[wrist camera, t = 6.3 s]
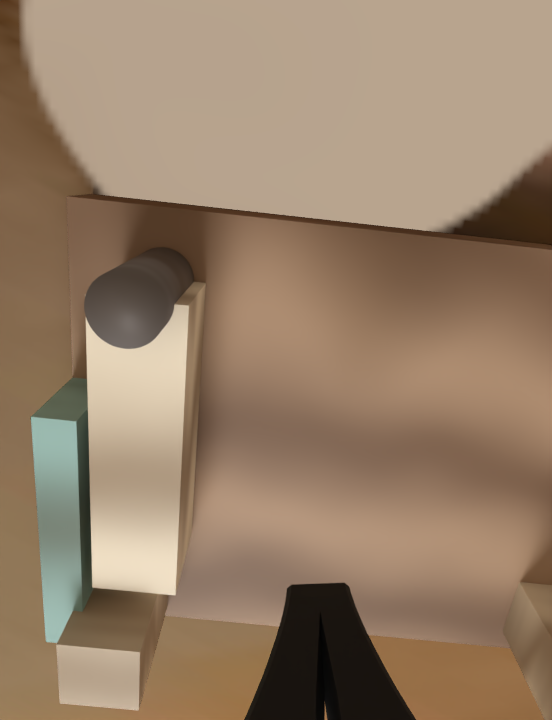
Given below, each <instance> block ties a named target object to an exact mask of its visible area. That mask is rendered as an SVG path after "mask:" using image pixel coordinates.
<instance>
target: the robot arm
mask: <svg viewBox="0 0 552 720" xmlns="http://www.w3.org/2000/svg"><path fill="white" fill-rule="evenodd" d="M325 706H326V712H327V719H328V720H416V719H415V717H414V716H413V714H412V713H411V711H410V709H409V708H408V706H407V705H406V703H405V701H404V700H403V698H402V696H401V695H400V693H399V691H398V690H397V688H396V686H395V685H394V683H393V681H392V679H391V678H390V676H389V674H388V672H387V670H386V669H385V667H384V665H383V663H382V661H381V659H380V657H379V655H378V653H377V652H376V650H375V648H374V646H373V644H372V642H371V640H370V638H369V636H368V634H367V631H366V629H365V627H364V625H363V623H362V620H361V618H360V616H359V613H358V611H357V608H356V606H355V603H354V600H353V597H352V594H351V591H350V587H349V586H348V585H347V584H346V583H319V584H293V585H290V586H289V587H288V588H287V592H286V600H285V605H284V610H283V614H282V618H281V622H280V626H279V629H278V633H277V636H276V639H275V642H274V645H273V648H272V651H271V654H270V657H269V660H268V663H267V666H266V669H265V671H264V674H263V677H262V679H261V681H260V684H259V686H258V689H257V691H256V694H255V696H254V699H253V701H252V703H251V706H250V708H249V710H248V713H247V715H246V717H245V719H244V720H324V711H325Z"/></svg>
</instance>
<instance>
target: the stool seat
mask: <svg viewBox="0 0 552 720" xmlns="http://www.w3.org/2000/svg"><path fill="white" fill-rule="evenodd" d="M66 198H67V227H68V256H69V285H70V314H71V343H72V372H73V378H72V379H71V380H69V381H68V382H67V383H66V384H65V385H64V386H63V387H62V388H61V389H60V390H59V391H58V392H57V393H56V394H55V395H54V396H53V397H51V398H50V399H49V400H48V401H47V402H46V403H45V404H44V405H43V406H42V407H41V408H40V409H39V410H38V411H37V412H36V413H35V414H33V415H32V416H31V425H32V440H33V455H34V470H35V485H36V500H37V515H38V530H39V545H40V560H41V575H42V590H43V605H44V620H45V635H46V642H53V643H57V644H56V646H57V663H58V680H59V698H60V703H62V704H73V705H84V706H95V707H106V708H117V709H128V710H139V708H140V704H141V701H142V697H143V694H144V690H145V686H146V683H147V679H148V675H149V672H150V668H151V664H152V661H153V657H154V653H155V650H156V646H157V642H158V639H159V635H160V631H161V628H162V624H163V621H164V617H165V616H174V617H185V618H195V619H206V620H217V621H227V622H238V623H248V624H259V625H270V626H280V622H281V618H282V614H283V610H284V605H285V600H286V592H287V588H288V587H289V586H290V585H293V584H319V583H346V584H347V585H348V586H349V587H350V591H351V594H352V597H353V600H354V603H355V606H356V608H357V611H358V613H359V616H360V618H361V620H362V623H363V625H364V627H365V629H366V631H367V634H368V635H376V636H386V637H397V638H408V639H418V640H429V641H439V642H450V643H461V644H471V645H482V646H492V647H503V648H511V650H512V652H513V654H514V656H515V658H516V661H517V663H518V665H519V667H520V669H521V671H522V673H523V675H524V677H525V679H526V681H527V684H528V686H529V688H530V690H531V692H532V694H533V696H534V698H535V700H536V702H537V704H538V707H539V709H540V711H541V713H542V715H543V717H544V719H545V720H552V245H548V244H539V243H530V242H521V241H512V240H503V239H494V238H485V237H476V236H467V235H458V234H449V233H440V232H431V231H422V230H413V229H403V228H395V227H384V226H376V225H367V224H358V223H349V222H340V221H331V220H322V219H313V218H304V217H295V216H286V215H277V214H268V213H258V212H250V211H240V210H232V209H222V208H213V207H205V206H195V205H187V204H177V203H167V202H159V201H150V200H140V199H132V198H123V197H114V196H105V195H96V194H87V195H76V196H66ZM156 247H165V248H170V249H173V250H175V251H177V252H179V253H180V254H181V255H183V256H184V257H185V258H186V260H187V261H188V262H189V264H190V266H191V268H192V270H193V274H194V282H202V283H206V291H205V308H204V326H203V343H202V360H201V378H200V395H199V413H198V430H197V447H196V465H195V482H194V500H193V517H192V534H191V538H190V542H189V545H188V549H187V553H186V557H185V561H184V565H183V568H182V572H181V576H180V580H179V584H178V587H177V591H176V595H166V594H155V593H144V592H134V591H123V590H113V589H102V588H92V551H91V511H90V471H89V431H88V391H87V352H86V315H85V310H84V300H85V295H86V292H87V290H88V288H89V286H90V285H91V284H92V282H93V281H94V280H95V279H96V278H98V277H99V276H101V275H102V274H104V273H106V272H108V271H110V270H112V269H114V268H115V267H117V266H119V265H121V264H123V263H125V262H127V261H129V260H130V259H132V258H134V257H136V256H138V255H140V254H142V253H144V252H145V251H147V250H149V249H152V248H156Z"/></svg>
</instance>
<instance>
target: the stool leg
mask: <svg viewBox="0 0 552 720" xmlns="http://www.w3.org/2000/svg"><path fill="white" fill-rule="evenodd" d="M205 291H206V283H202V282H194V274H193V270H192V268H191V266H190V264H189V262H188V261H187V260H186V258H185V257H184V256H183V255H181V254H180V253H179V252H177V251H175V250H173V249H170V248H165V247H156V248H152V249H149V250H147V251H145V252H144V253H142V254H140V255H138V256H136V257H134V258H132V259H130V260H129V261H127V262H125V263H123V264H121V265H119V266H117V267H115V268H114V269H112V270H110V271H108V272H106V273H104V274H102V275H101V276H99V277H98V278H96V279H95V280H94V281H93V282H92V284H91V285H90V286H89V288H88V290H87V292H86V295H85V300H84V310H85V315H86V352H87V391H88V431H89V471H90V511H91V551H92V588H102V589H113V590H123V591H134V592H144V593H155V594H166V595H176V591H177V587H178V584H179V580H180V576H181V572H182V568H183V565H184V561H185V557H186V553H187V549H188V545H189V542H190V538H191V534H192V517H193V500H194V482H195V465H196V447H197V430H198V413H199V395H200V378H201V360H202V343H203V326H204V308H205Z"/></svg>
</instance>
